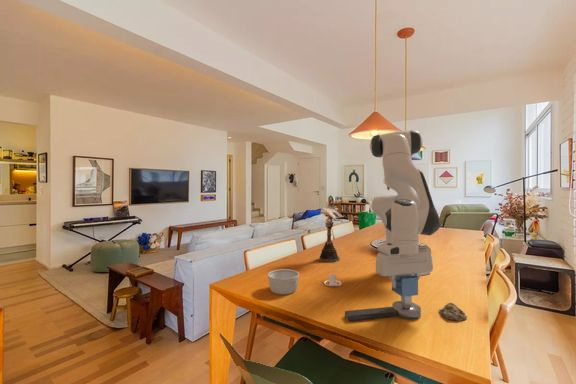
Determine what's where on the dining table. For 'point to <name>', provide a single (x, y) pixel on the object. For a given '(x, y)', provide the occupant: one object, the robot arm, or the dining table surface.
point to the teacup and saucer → (332, 280)
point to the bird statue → (329, 250)
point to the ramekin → (283, 281)
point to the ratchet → (387, 311)
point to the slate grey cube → (406, 285)
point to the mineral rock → (452, 312)
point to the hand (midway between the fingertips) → (404, 286)
